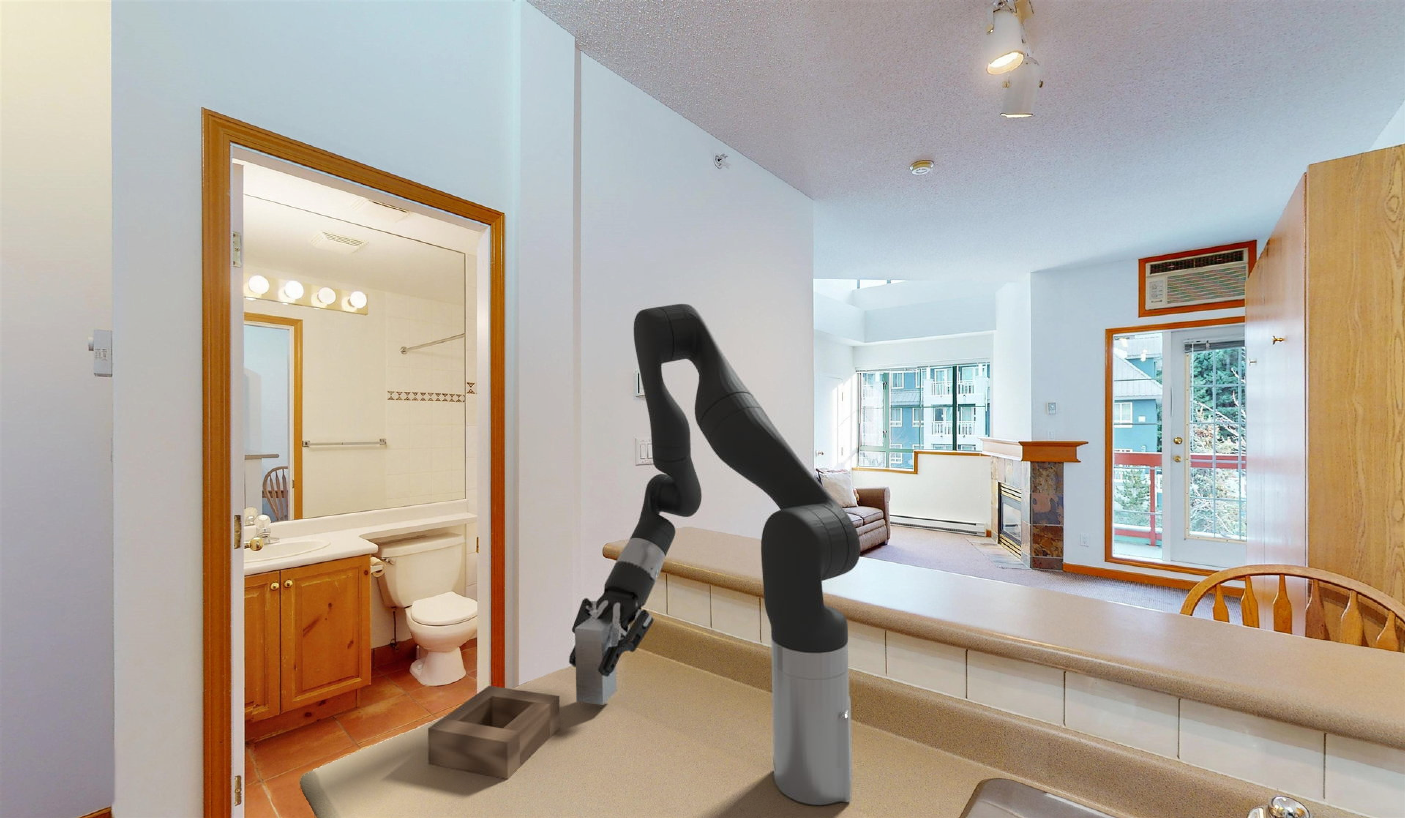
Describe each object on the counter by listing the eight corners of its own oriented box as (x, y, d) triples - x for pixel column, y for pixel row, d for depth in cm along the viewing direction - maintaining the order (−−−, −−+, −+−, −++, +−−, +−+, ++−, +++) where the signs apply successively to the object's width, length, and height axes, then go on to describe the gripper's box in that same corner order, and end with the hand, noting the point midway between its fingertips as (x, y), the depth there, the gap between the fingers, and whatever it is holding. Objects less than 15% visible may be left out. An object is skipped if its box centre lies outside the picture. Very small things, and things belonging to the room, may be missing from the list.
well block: (559, 727, 80) (559, 695, 81) (507, 779, 69) (507, 742, 69) (489, 715, 84) (488, 685, 84) (428, 763, 72) (428, 728, 73)
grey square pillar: (616, 690, 88) (614, 620, 88) (603, 704, 84) (601, 630, 84) (591, 687, 89) (589, 618, 90) (576, 701, 85) (574, 628, 85)
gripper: (593, 555, 97) (541, 649, 87) (660, 564, 90) (611, 668, 79) (614, 578, 102) (567, 670, 91) (679, 589, 94) (636, 691, 83)
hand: (588, 669), depth 85 cm, fingers closed on grey square pillar, 5 cm apart
